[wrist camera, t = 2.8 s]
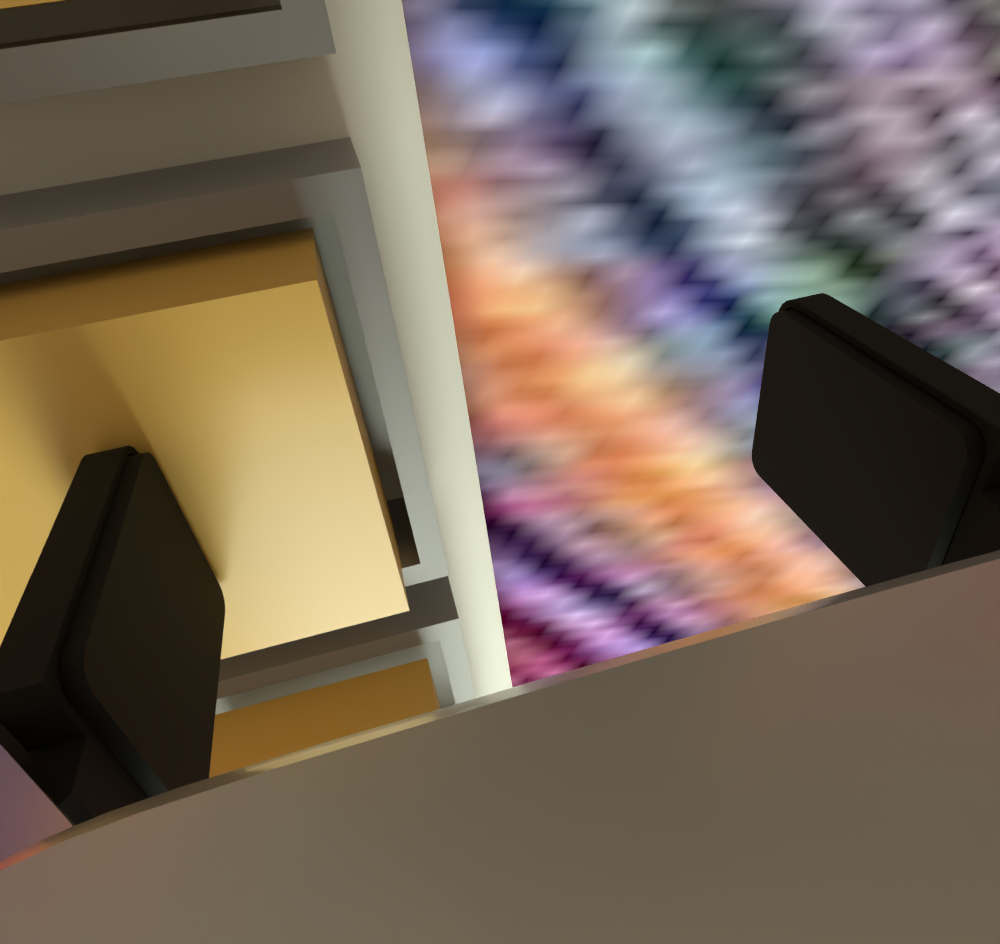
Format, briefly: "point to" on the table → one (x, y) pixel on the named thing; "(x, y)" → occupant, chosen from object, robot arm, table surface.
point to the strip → (263, 212)
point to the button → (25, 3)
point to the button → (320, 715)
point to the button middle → (205, 427)
